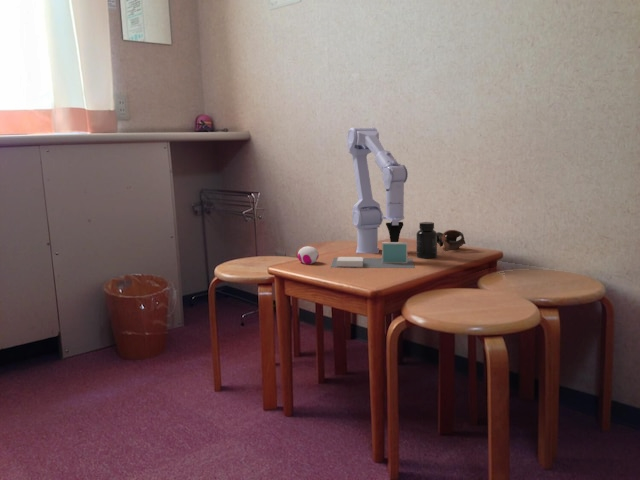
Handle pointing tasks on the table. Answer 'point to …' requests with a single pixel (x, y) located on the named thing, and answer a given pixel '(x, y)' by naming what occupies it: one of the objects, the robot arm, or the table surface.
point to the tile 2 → (394, 252)
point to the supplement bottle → (426, 241)
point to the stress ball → (308, 255)
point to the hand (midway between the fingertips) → (394, 244)
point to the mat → (379, 263)
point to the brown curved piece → (450, 239)
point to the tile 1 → (350, 262)
